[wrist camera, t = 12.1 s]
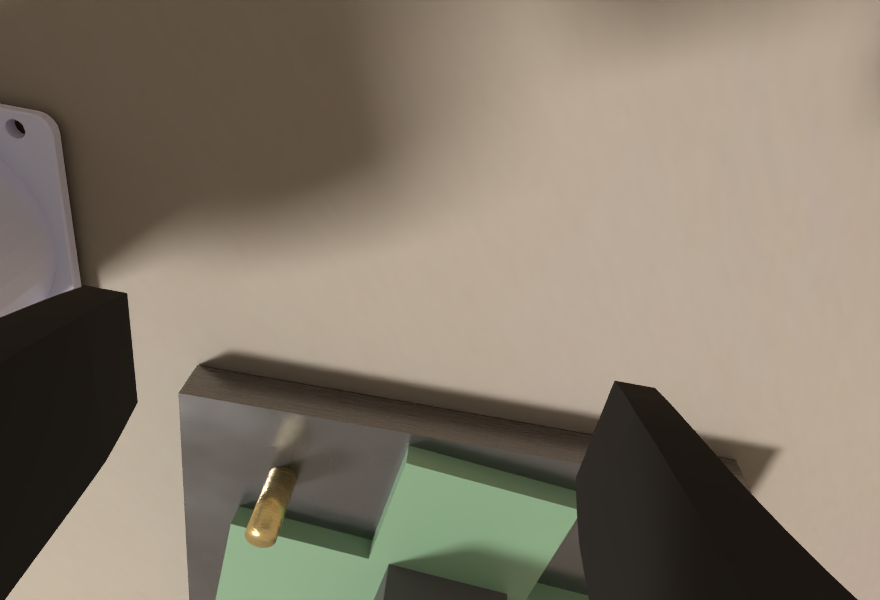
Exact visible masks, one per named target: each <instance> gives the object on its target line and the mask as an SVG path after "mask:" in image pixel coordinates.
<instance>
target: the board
mask: <svg viewBox="0 0 880 600" xmlns="http://www.w3.org/2000/svg"><path fill="white" fill-rule="evenodd" d="M253 511H254V510H252V509H248V508H245V507H241V506H238V508H237V511H236V513H235V515H234V518H233V520H232V522H231V525H230V530H229V535H228V540H227V545H226V550H225V555H224V560H223V565H222V570H221V575H220V580H219V585H218V590H217V595H216V600H589V598H588V596H587V595H584V594H580V593H576V592H572V591H568V590H564V589H560V588H556V587H552V586H549V585H545V584H541V583H537V581H538V579H539V578H540V576H541V575H542V573H543V572H544V570H545V568H546V567H547V565H548V564H549V562H550V560H551V559H552V557H553V556H554V554H555V552H556V551H557V549H558V548H559V546H560V545H561V543H562V541H563V540H564V538H565V537H566V535H567V533H568V532H569V530H570V529H571V527H572V526H573V524H574V522H575V521H576V519H577V504H576V491H574V490H570V489H566V488H563V487H559V486H555V485H552V484H548V483H544V482H541V481H537V480H533V479H530V478H526V477H523V476H519V475H515V474H512V473H508V472H504V471H501V470H497V469H493V468H490V467H486V466H482V465H479V464H475V463H471V462H468V461H464V460H460V459H457V458H453V457H449V456H446V455H442V454H438V453H435V452H431V451H428V450H424V449H420V448H417V447H413V446H408V449H407V451H406V454H405V456H404V459H403V461H402V464H401V467H400V469H399V472H398V474H397V477H396V480H395V482H394V485H393V487H392V490H391V493H390V495H389V498H388V500H387V503H386V506H385V508H384V511H383V513H382V516H381V518H380V521H379V524H378V526H377V529H376V531H375V534H374V537H373V539H372V540H369V539H365V538H361V537H358V536H354V535H350V534H346V533H342V532H338V531H334V530H330V529H326V528H322V527H319V526H315V525H311V524H307V523H303V522H299V521H295V520H291V519H287V518H284V520H283V523H282V526H281V528H280V531H279V534H278V537H277V540H276V543H275V544H274V545H273V546H271V547H268V548H259V547H256V546H253V545H251V544H250V543H249V542H248V541H247V540H246V539H245V531H246V529H247V526H248V524H249V521H250V519H251V516H252V514H253Z"/></svg>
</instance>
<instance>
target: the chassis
mask: <svg viewBox="0 0 880 600" xmlns="http://www.w3.org/2000/svg"><path fill="white" fill-rule="evenodd" d="M179 410H180V429H181V448H182V467H183V486H184V506H185V525H186V544H187V563H188V582H189V600H216V595H217V590H218V585H219V580H220V575H221V570H222V565H223V560H224V555H225V550H226V545H227V540H228V535H229V530H230V525H231V522H232V520H233V518H234V515H235V513H236V511H237V508H238V506H241V507H245V508H248V509H252V510H254V511H253V514H252V516H251V519H250V521H249V524H248V526H247V529H246V531H245V539H246V540H247V541H248V542H249V543H250V544H251V545H253V546H256V547H259V548H268V547H271V546H273V545H274V544H275V543H276V540H277V537H278V534H279V531H280V528H281V526H282V523H283V520H284V518H287V519H291V520H295V521H299V522H303V523H307V524H311V525H315V526H319V527H322V528H326V529H330V530H334V531H338V532H342V533H346V534H350V535H354V536H358V537H361V538H365V539H369V540H372V539H373V537H374V534H375V531H376V529H377V526H378V524H379V521H380V518H381V516H382V513H383V511H384V508H385V506H386V503H387V500H388V498H389V495H390V493H391V490H392V487H393V485H394V482H395V480H396V477H397V474H398V472H399V469H400V467H401V464H402V461H403V459H404V456H405V454H406V451H407V449H408V446H413V447H417V448H420V449H424V450H428V451H431V452H435V453H438V454H442V455H446V456H449V457H453V458H457V459H460V460H464V461H468V462H471V463H475V464H479V465H482V466H486V467H490V468H493V469H497V470H501V471H504V472H508V473H512V474H515V475H519V476H523V477H526V478H530V479H533V480H537V481H541V482H544V483H548V484H552V485H555V486H559V487H563V488H566V489H570V490H574V491H576V480H575V478H576V476H577V473H578V471H579V468H580V466H581V463H582V461H583V458H584V456H585V453H586V451H587V448H588V446H589V443H590V441H591V439H592V436H593V435H588V434H583V433H577V432H571V431H566V430H560V429H554V428H549V427H543V426H537V425H532V424H526V423H520V422H515V421H509V420H503V419H498V418H492V417H486V416H481V415H475V414H469V413H464V412H458V411H452V410H447V409H441V408H435V407H430V406H424V405H418V404H413V403H407V402H401V401H396V400H390V399H384V398H379V397H373V396H367V395H362V394H356V393H350V392H345V391H339V390H333V389H328V388H322V387H316V386H311V385H305V384H299V383H294V382H288V381H282V380H277V379H271V378H265V377H260V376H254V375H248V374H243V373H237V372H231V371H226V370H220V369H214V368H209V367H203V366H197V367H196V368H195V370H194V371H193V373H192V374H191V376H190V377H189V378H188V380H187V381H186V383H185V384H184V386H183V387H182V389H181V390H180V392H179ZM718 458H719V457H718ZM719 459H720V460H721V461H722V462H723V463H724V464H725V466H726V467H727V468H728V469H729V470H730V471H731V472H732V473H733V474H734V476H735V477H736V478H737V479H738V480H739V481H740V482H741V483H742V484H743V485H744V486H745V488H746V489H747V490H748V491H749V492H750V490H749V488H748V486H747V483H746V481H745V479H744V477H743V475H742V473H741V471H740V469H739V467H738V465H737V463H736V460H730V459H724V458H719ZM750 493H751V492H750ZM537 583H541V584H545V585H549V586H552V587H556V588H560V589H564V590H568V591H572V592H576V593H580V594H584V595H587V596H588V592H587V586H586V581H585V575H584V570H583V564H582V558H581V552H580V546H579V538H578V523H577V519H576V521H575V522H574V524H573V526H572V527H571V529H570V530H569V532H568V533H567V535H566V537H565V538H564V540H563V541H562V543H561V545H560V546H559V548H558V549H557V551H556V552H555V554H554V556H553V557H552V559H551V560H550V562H549V564H548V565H547V567H546V568H545V570H544V572H543V573H542V575H541V576H540V578H539V579H538V581H537Z"/></svg>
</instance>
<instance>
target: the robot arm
mask: <svg viewBox="0 0 880 600" xmlns="http://www.w3.org/2000/svg"><path fill="white" fill-rule="evenodd" d="M15 120H17V121H19V122H20V123H21V124H22V125H23V127H24V129H25V134H23V133H21V132H20V131H19V130H18V129H17V127H16V125H15ZM137 402H138V401H137V391H136V381H135V370H134V360H133V350H132V339H131V329H130V318H129V308H128V298H127V293H123V292H118V291H112V290H107V289H101V288H95V287H90V286H82V287H81V280H80V273H79V265H78V258H77V251H76V244H75V237H74V230H73V222H72V215H71V208H70V201H69V194H68V186H67V179H66V172H65V165H64V158H63V150H62V143H61V136H60V131H59V128H58V125H57V124H56V122H55V121H54V120H53V118H51V117H50V116H49V115H47V114H46V113H43V112H41V111H37V110H32V109H26V108H21V107H16V106H10V105H5V104H0V600H5V599H6V597H7V596H8V595H9V593H10V592H11V591H12V589H13V588H14V587H15V585H16V584H17V583H18V581H19V580H20V578H21V577H22V576H23V574H24V573H25V572H26V570H27V569H28V568H29V566H30V565H31V563H32V562H33V561H34V559H35V558H36V557H37V555H38V554H39V553H40V551H41V550H42V548H43V547H44V546H45V544H46V543H47V542H48V540H49V539H50V538H51V536H52V535H53V534H54V532H55V531H56V529H57V528H58V527H59V525H60V524H61V523H62V521H63V520H64V519H65V517H66V516H67V515H68V513H69V512H70V510H71V509H72V508H73V506H74V505H75V504H76V502H77V501H78V499H79V498H80V497H81V495H82V494H83V492H84V491H85V490H86V488H87V487H88V486H89V484H90V483H91V481H92V480H93V479H94V477H95V476H96V474H97V473H98V472H99V470H100V469H101V467H102V466H103V464H104V463H105V462H106V460H107V458H108V456H109V455H110V453H111V451H112V449H113V447H114V446H115V444H116V442H117V440H118V439H119V437H120V435H121V433H122V431H123V429H124V427H125V425H126V424H127V422H128V420H129V418H130V416H131V414H132V412H133V410H134V408H135V406H136V404H137ZM575 480H576V504H577V523H578V538H579V546H580V552H581V558H582V564H583V570H584V575H585V581H586V586H587V592H588V598H589V600H857V599H856V598H855V597H854V596H853V595H852V594H851V593H850V592H849V591H848V590H847V589H846V588H844V587H843V586H842V585H841V584H840V583H839V582H838V581H837V580H836V579H835V578H834V577H833V576H832V575H831V574H830V573H829V572H828V571H826V570H825V569H824V568H823V567H822V566H821V565H820V564H819V563H818V562H817V561H816V560H815V559H814V558H813V557H812V556H811V555H810V554H809V553H808V552H807V551H806V550H805V549H804V548H803V547H802V546H801V545H800V544H799V543H798V542H797V541H796V540H795V539H794V538H793V537H792V536H791V535H790V534H789V533H788V532H787V531H786V530H785V529H784V528H783V527H782V526H781V525H780V524H779V523H778V522H777V520H776V519H775V518H774V517H773V516H772V515H771V514H770V513H769V512H768V511H767V510H766V509H765V508H764V507H763V506H762V505H761V504H760V503H759V502H758V501H757V499H756V498H755V497H754V496H753V495H752V494H751V493H750V492H749V491H748V490H747V489H746V488H745V486H744V485H743V484H742V483H741V482H740V481H739V480H738V479H737V478H736V477H735V476H734V474H733V473H732V472H731V471H730V470H729V469H728V468H727V467H726V466H725V464H724V463H723V462H722V461H721V460H720V459H719V458H718V457H717V456H716V454H715V453H714V452H713V451H712V450H711V449H710V448H709V447H708V445H707V444H706V443H705V442H704V441H703V440H702V439H701V438H700V436H699V435H698V434H697V433H696V432H695V431H694V430H693V429H692V427H691V426H690V425H689V424H688V423H687V422H686V421H685V420H684V418H683V417H682V416H681V415H680V414H679V413H678V412H677V411H676V410H675V408H674V407H673V406H672V405H671V404H670V403H669V402H668V401H667V400H666V399H665V398H664V397H663V396H662V395H661V394H660V393H659V392H658V391H657V390H656V389H655V388H652V387H646V386H641V385H635V384H630V383H624V382H618V381H614V384H613V386H612V389H611V391H610V394H609V396H608V399H607V401H606V404H605V406H604V409H603V411H602V414H601V416H600V419H599V421H598V424H597V426H596V429H595V431H594V434H593V436H592V439H591V441H590V443H589V446H588V448H587V451H586V453H585V456H584V458H583V461H582V463H581V466H580V468H579V471H578V473H577V476H576V478H575Z"/></svg>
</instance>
